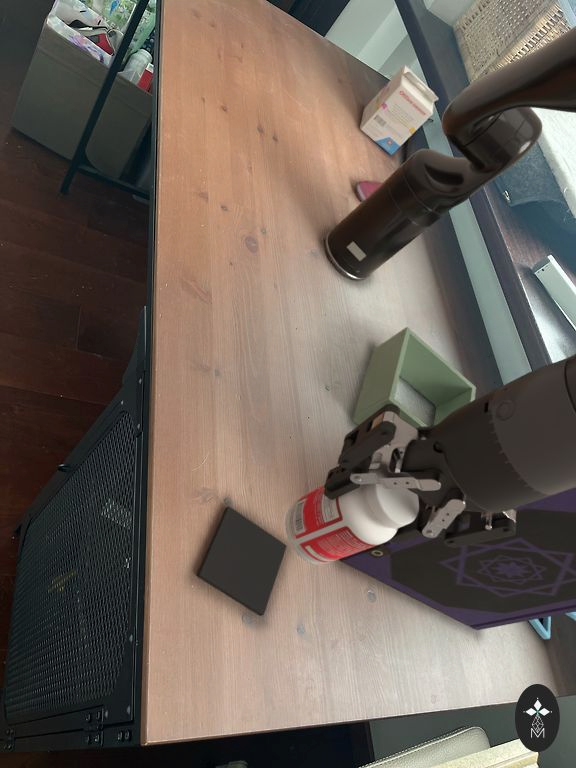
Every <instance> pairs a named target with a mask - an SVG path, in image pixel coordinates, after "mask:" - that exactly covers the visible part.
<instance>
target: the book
mask: <svg viewBox="0 0 576 768" xmlns="http://www.w3.org/2000/svg"><path fill="white" fill-rule="evenodd" d="M418 499H419V507H422V508H423V509H424V510H426V506H427V504H426V503H425V502H424V501H423V500H422V499H421V498H420V496H419V495H418ZM468 528H469V524H467V525H463V526H462V530H461V531H464V530H467V529H468ZM339 561H340V562H342V563H345V564H346V565H348V566H350V567H352V568H354V569H355V570H358V571H360V572H362V573H364V574H366V575H368V576H369V577H372V578H373V579H375V580H377V581H379V582H381V583H384V584H385V585H387V586H389V587H391V588H393V589H395V590H397V591H399V592H401V593H403V594H405V595H406V596H409V597H411V598H413V599H415V600H417V601H418V602H420V603H423V604H425V605H426V606H429V607H430V608H432V609H434V610H436V611H439V612H441V613H442V614H444V615H446V616H448V617H450V618H452V619H454V620H456V621H459V622H460V623H462V624H464V625H466V626H467V627H468V626H470V627H471V628H472V629H474V630H476V631H480V630H481V631H482V630H486V629H491V628H496V627H502V626H508V625H513V624H518V623H523V622H529V620H534V619H538V620H540V619H543V618H545V617H550V616H551V617H555V616H560V615H566V613H571V612H576V488H573V489H570V490H567V491H564V492H561V493H558V494H556V495H553V496H550V497H547V498H544V499H541V500H538V501H535V502H532V503H529V504H526V505H523V506H520V507H517V516H516V533H515V535H513V536H509V537H504V538H499V539H494V540H490V541H485V542H480V543H475V544H470V545H465V546H461V547H456V548H452V547H448V546H446V545H445V544H444V539H443V538H441V537H439V536H437V537H435V538H429V537H426V536H423V537H420V538H417V539H414V540H410V541H408V542H401V543H400V542H398V543H395V544H391V543H390V542H388V541H387V542H385V543H382V544H380V545H377V546H374V547H371V548H368V549H366V550H363V551H360V552H357V553H355V554H352V555H349V556H346V557H343V558H340V559H339Z"/></svg>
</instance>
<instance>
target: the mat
mask: <svg viewBox="0 0 576 768" xmlns="http://www.w3.org/2000/svg"><path fill="white" fill-rule="evenodd" d="M216 527H217V528H216V530H215V532H214V535H213V537H212V539H211V542H210V544H209V546H208V548H207V551H206V553H205V555H204V558H203V560H202V563H201V565H200V567H199V570H198V572H197V574H196V576H197V578H199V579H200V580H202V581H204V582H206V583H207V584H209V585H211V586H212V587H213V588H215V589H216V590H218V591H220V592H222V593H223V594H225V595H226V596H228V597H230V598H231V599H232V600H234V601H236V602H237V603H238V604H240V605H242V606H244V607H245V608H247V609H249V610H250V611H251V612H253V613H254V614H257V615H258V616H260V617H263V616H264V615H265V612H266V609H267V607H268V603H269V600H270V598H271V595H272V591H273V589H274V585H275V582H276V579H277V576H278V573H279V571H280V568H281V564H282V561H283V558H284V555H285V553H286V549H287V545H286V544H285V543H284V542H282V541H281V540H279V539H278V538H276V537H275V536H273V535H272V534H270V533H269V532H268V531H266V530H264V529H263V528H262V527H260V526H259V525H257V524H256V523H255V522H253V521H252V520H250V519H248V518H247V517H246V516H245V515H243V514H241V513H239V512H238V511H237V510H235V509H234V508H233V507H231V506H226V507H225V509H224V511H223V514H222V516H221V518H220V521H219V523H218V525H217V526H216Z"/></svg>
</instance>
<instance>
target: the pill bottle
mask: <svg viewBox="0 0 576 768" xmlns="http://www.w3.org/2000/svg"><path fill="white" fill-rule="evenodd" d="M397 472H400V468H398V467H396V470H395V473H397ZM324 490H325V488H324V485H322V486H320V487H318V488H316V489H314V490H312V491H310V492H308V493H306V494H304V495H302V496H301V497H298V498H296V500H294V501H293V502H292V503H291V505H289V507H288V509H287V512H286V515H285V525H284V526H285V533H286V537H287V540H288V542H289V544H290V546H291V549H292V550H293V551H294V552H295V553H296V555H297V556H298V557H300V558H301V559H302V560H303V561H305V562H307V563H309V564H312V565H317V566H318V565H326V564H329V563H332V562H334V561H338V560H340V558H343V557H346V556H349V555H352V554H355V553H357V552H360V551H363V550H366V549H368V548H371V547H374V546H377V545H380V544H382V543H385V542H387V541H388V540H390V539H391V538H392V537H393V536H394V535H395V534H396V532H397V530H398V528H400V527H402V526H405V525H407V524H409V523H411V522H413V521H414V520H415V518H416V517H417V514H418V511H419V499H418V495H417V494H415V493H413V492H411V491H409V490H408V489H407V488H404V489H385V488H383V486H382V484H360V487H359V488H357V489H355V490H353V491H351V492H348V493H346V494H344V495H342V496H340V497H337V498H335V499H333V500H330V499H329V498H328V497H326V496H325V495H324Z"/></svg>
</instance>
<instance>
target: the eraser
mask: <svg viewBox="0 0 576 768" xmlns="http://www.w3.org/2000/svg"><path fill="white" fill-rule="evenodd" d="M382 183H383V182H376V181H369V180H362V181H359V182H358V183H357V184H356V187H355V190H354V191H355V194H356V197H357V198H358V199H359V200H360V201H361V203H362V202H363V201H364V200H365V199H366V198H367V197H368V196H369V195H370V194H371V193H372V192H373V191H375V190H376V189H377V188H378V187H379V186H380V185H381V184H382Z"/></svg>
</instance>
